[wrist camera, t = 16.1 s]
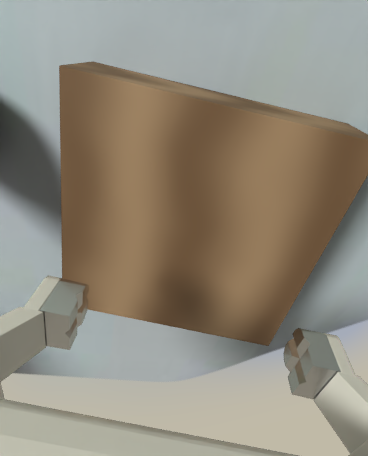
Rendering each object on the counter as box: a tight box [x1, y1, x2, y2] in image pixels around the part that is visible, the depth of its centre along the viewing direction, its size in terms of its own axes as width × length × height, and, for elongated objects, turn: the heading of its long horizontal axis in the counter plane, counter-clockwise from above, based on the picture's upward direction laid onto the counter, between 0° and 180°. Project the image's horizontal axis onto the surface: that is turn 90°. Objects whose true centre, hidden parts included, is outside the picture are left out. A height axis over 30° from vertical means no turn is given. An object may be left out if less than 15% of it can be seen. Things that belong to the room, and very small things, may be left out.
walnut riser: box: [59, 62, 368, 346], centre depth 18 cm, size 14×14×4 cm
